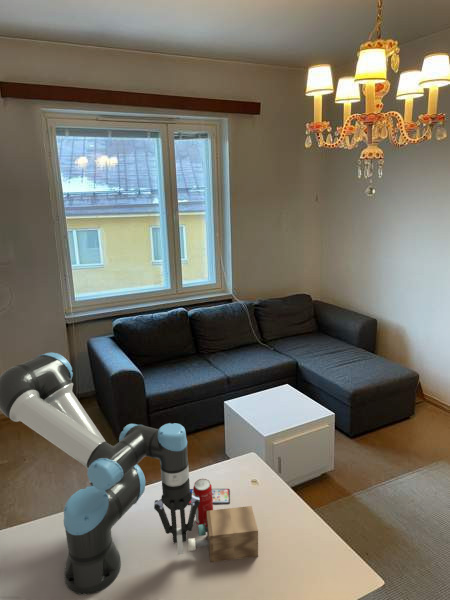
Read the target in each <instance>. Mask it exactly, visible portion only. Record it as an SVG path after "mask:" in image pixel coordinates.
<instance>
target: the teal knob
mask: <svg viewBox="0 0 450 600" xmlns="http://www.w3.org/2000/svg"><path fill="white" fill-rule="evenodd" d="M197 526H198V527H197V528H198V536H199V537H202V536H207V534H206V533H207V532H208V527H205V524H201V525H197Z"/></svg>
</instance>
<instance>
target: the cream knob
mask: <svg viewBox="0 0 450 600" xmlns="http://www.w3.org/2000/svg"><path fill="white" fill-rule="evenodd" d="M187 543H188V544H187V547H188V552H189V551H196V548H197V547H206V546H208V545H209V540H208V539H205V540H204V539H203V540H196V538H195V537H194V538H188V539H187Z"/></svg>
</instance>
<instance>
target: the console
mask: <svg viewBox="0 0 450 600" xmlns="http://www.w3.org/2000/svg"><path fill="white" fill-rule="evenodd" d="M207 527H208V532H206V533H207V534H206V536H207V540H209V545H207V546H208V552H209V553H208V554H209V561H210V563H215V562H224V561H225V562H226V561H233V560H240V559H248V558H258V557H259V529H258V525H257V521H256V518H255V513H254V509H253V506H252V505H248V506H239V507H231V508H230V507H229V508H221V509H219V508H218V509H213V510H209V511H207Z"/></svg>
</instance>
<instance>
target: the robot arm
mask: <svg viewBox="0 0 450 600" xmlns="http://www.w3.org/2000/svg"><path fill="white" fill-rule="evenodd" d="M73 376H74V373H73V367H72V365H71V363H70V362H69V361H68V359H66V357H64V356H63V355H62V354H60V353H58V352H45V353H43V354H39V355H37V356H35V357H33V358H30V359H28V360H26V361H24V362H22V363H19V364H17V365H14V366H12V367H9V368H7V369H6V370H5V371H3V372H2V373H1V374H0V412H1V413H3V415H4V416H6V418H9V420H11V421H12V422H17V423H18V422H22V424H24V425H25V426H26V427H28V428H29V429H31V430H32V431H34V432H35V433H37V434H39V435H40V436H41V437H43V438H45V439H46V440H47V441H48V442H49V443H51V444H53V445H54V446H56V447H57V448H59V449H60V450H61V451H63V452H64V453H65V454H67V455H68V456H70V457H71V458H73V459H74V460H76V461H77V462H78V463H80V464H81V465H83V466H84V467H85V468H86V470H87V472H86V473H87V479H88V483H89V484H90V486H86V487H85V488H81V489H79V490H77V491H76V492H73V494H72V495H71V496H69V498H68V499H67V501H66V503H65V505H64V508H63V526H64V528H65V529H64V531H65V535H66V544H67V552H68V554H67V558H66V562H65V567H64V575H63V576H64V580H65V581H64V582H65V585H66V587H67V588H68V589H69V590H70V591H71V592H73V593H74V594H77V595H78V594H79V595H90V594H94V593H97V592H100V591H103V590H105V589H106V588H107V587H109V586H110V585H111V584H112V583H113V582H114V581H115V580H116V578H117V577H118V576H119V574H120V571H121V568H122V566H121V565H122V562H121V561H122V560H121V555H120V554H121V553H120V552H119V550H118V548H117V547H116V545H115V543H114V541H113V538H112V528H113V527H114V526H115V525H116V524H117V523H118V521H119V520H121V518H122V517H123V516H124V515H125V514H126V513H127V512H128V511H129V510H130V509H131V508H132V507H133V506H134V505H136V504H137V502H138V501H139V499H140V498H141V497H142V495H143V494H144V492H145V489H146V478H145V474H144V472H143V470H142V468H141V467H140V465H139V463H140V462H141V461H142V460H143V459H144V458H145V457H149V458H152V459H157V460H159V463H160V464H159V465H160V476H161V477H160V478H161V489H162V494H161V498H160V499H156V500H154V505H153V508H154V510H155V511H156V512H157V513H158V515H159V517H160V518H159V519H160V521H161V523H162V526H163V529H164V532H165V533H166V534H167V535H168V534H171V536H172V543H173V544H176V545H177V555H183V554H184V543H186V542H187V541H188V539H187V532H188V531H189V532H192V531H193V526H194V523H195V519H196V515H195V514H196V509H197V507H198V506H199V504H200V498H199V496H196V497H195V496H193V495H192V493H191V491H190V489H191V487H190V486H191V485H190V477H189V476H190V472H189V471H190V469H189V460H188V439H187V433H186V429H185V426H183V425H182V424H181V423H175V422H174V423H171V422H169V423H165V424H163V425H162V426H160V427H159V428H155V427H151V426H146V425H144V424H136V423H129V424H126V426H124V427H123V428H122V429H123V430H122V431H121V432H120V433H119V438H118V441H119V442H117V443H116V444H114V445H111V443H110V444H109V443H108V442H107V441H106V440H105V438H104V436H103V435H102V434H101V432H100V430H99V429H98V428H97V426H96V425H95V423H94V422H93V420H92V419H91V417H90V416H89V414H88V413H87V412H86V410H85V408H84V407H83V405H82V404H81V403H80V401H79V399H78V398H77V396H76V395H75V393H74V392H73V386H74V383H73V382H72V379H73ZM190 501H191V504H192V505H190V510H189V515H188V521H187V523H186V512H185V508H187V507H188V506H189V505H188V503H189V502H190ZM164 506H165V507H166V508H167V509H168V510H169V511H170V520H171V523H170V521H169V519H168V515H167V513H166V511H165V508H164ZM176 511H179V513H180V515H179V517H180V527H177V525H178V524H177V514H176Z"/></svg>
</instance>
